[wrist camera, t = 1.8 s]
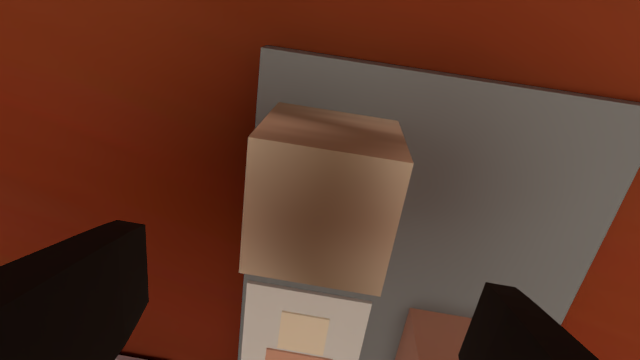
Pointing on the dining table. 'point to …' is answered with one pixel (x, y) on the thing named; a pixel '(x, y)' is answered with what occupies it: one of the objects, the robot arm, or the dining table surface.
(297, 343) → the card
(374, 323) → the build board
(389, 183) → the cream cube
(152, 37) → the dining table surface
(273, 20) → the dining table surface
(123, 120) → the dining table surface
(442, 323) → the terracotta block
